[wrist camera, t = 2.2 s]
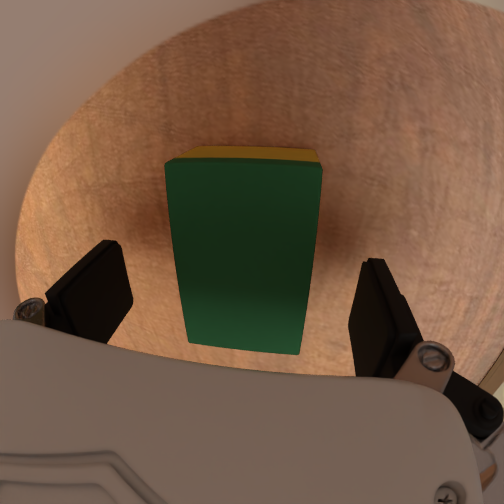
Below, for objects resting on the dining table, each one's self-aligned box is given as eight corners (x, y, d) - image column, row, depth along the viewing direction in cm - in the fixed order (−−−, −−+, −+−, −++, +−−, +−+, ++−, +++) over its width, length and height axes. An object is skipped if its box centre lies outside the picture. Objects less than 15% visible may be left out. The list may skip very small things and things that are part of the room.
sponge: (196, 145, 12) (163, 163, 9) (315, 149, 11) (322, 167, 8) (207, 297, 16) (187, 343, 13) (300, 306, 15) (299, 355, 12)
